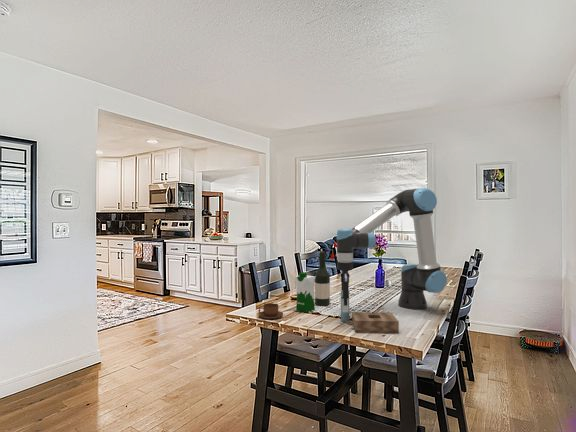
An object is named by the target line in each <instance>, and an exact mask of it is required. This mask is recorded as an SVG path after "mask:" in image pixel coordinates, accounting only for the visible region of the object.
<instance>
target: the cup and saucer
mask: <svg viewBox="0 0 576 432" xmlns="http://www.w3.org/2000/svg"><path fill="white" fill-rule="evenodd" d="M261 309H262V310H263V311H261ZM283 315H284V312H283V311H281V310H280V311H279V304H278V303H274V302H273V303H272V302H271V303H264V304H263V306H261V307H259V308H258V317H260V318H262V319H267V320H274V319H279V318H281V317H282V316H283Z"/></svg>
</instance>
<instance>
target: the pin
mask: <svg viewBox="0 0 576 432" xmlns="http://www.w3.org/2000/svg"><path fill="white" fill-rule="evenodd" d="M341 297H343V290H340V321H341V322H345V323H346V322H350V297H349V298H348V312H342V298H341Z"/></svg>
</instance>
